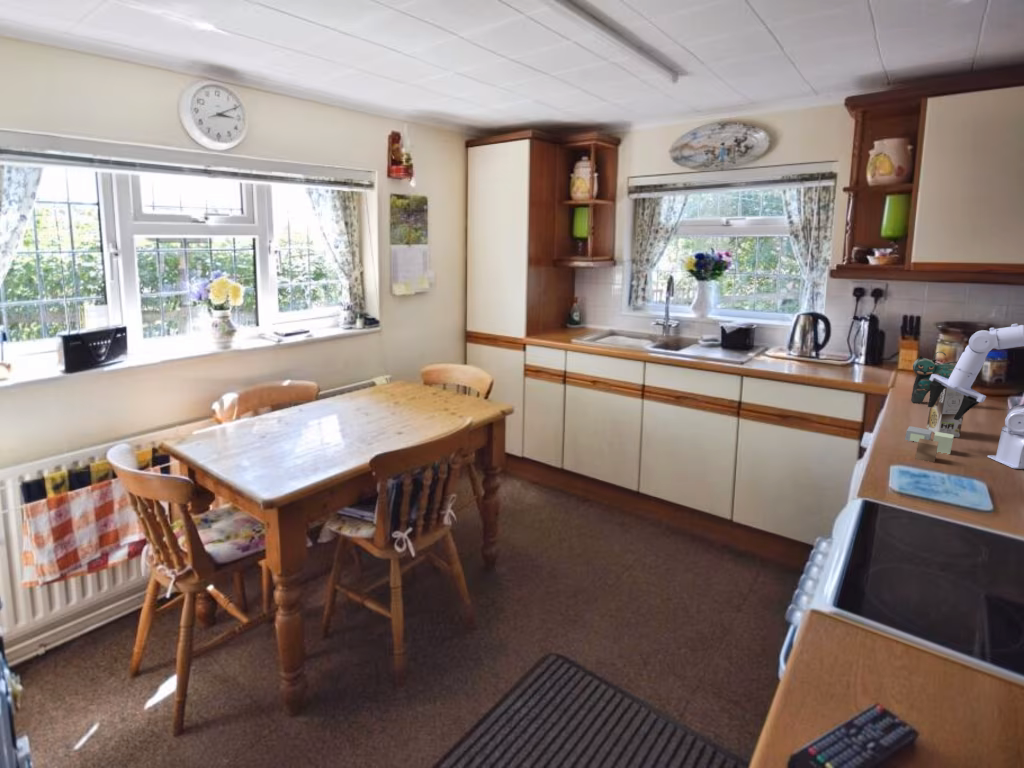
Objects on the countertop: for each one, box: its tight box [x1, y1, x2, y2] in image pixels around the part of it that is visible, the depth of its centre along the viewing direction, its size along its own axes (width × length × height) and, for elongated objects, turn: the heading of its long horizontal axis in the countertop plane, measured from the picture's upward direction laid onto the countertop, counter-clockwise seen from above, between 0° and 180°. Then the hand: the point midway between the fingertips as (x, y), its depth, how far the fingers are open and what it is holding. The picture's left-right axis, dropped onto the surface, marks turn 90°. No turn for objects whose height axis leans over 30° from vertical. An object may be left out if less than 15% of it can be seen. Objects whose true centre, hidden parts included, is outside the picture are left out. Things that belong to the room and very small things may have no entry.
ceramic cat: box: [910, 351, 974, 405], centre depth 237 cm, size 20×6×20 cm, turn 73°
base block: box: [904, 425, 933, 443], centre depth 194 cm, size 6×6×4 cm
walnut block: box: [915, 438, 938, 463], centre depth 178 cm, size 4×4×5 cm
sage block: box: [932, 432, 955, 455], centre depth 185 cm, size 4×4×5 cm
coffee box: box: [926, 387, 967, 438], centre depth 202 cm, size 9×6×16 cm
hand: (943, 413), depth 186 cm, fingers open, 7 cm apart
